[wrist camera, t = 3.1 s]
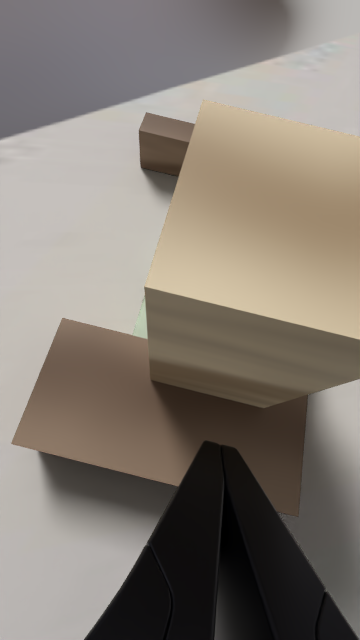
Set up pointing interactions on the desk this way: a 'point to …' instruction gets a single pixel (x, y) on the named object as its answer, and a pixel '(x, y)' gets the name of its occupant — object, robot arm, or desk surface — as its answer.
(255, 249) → the beech block
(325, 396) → the desk surface
